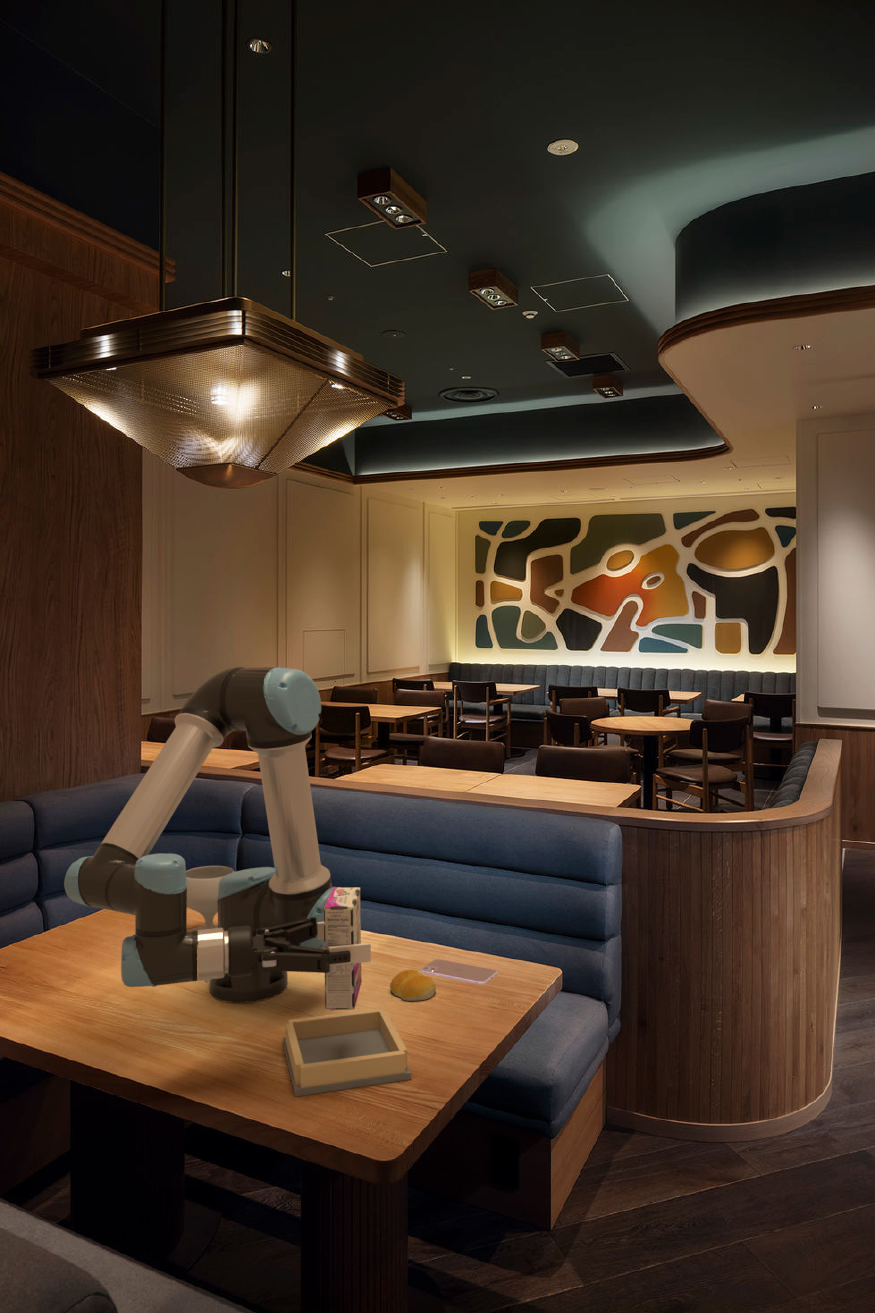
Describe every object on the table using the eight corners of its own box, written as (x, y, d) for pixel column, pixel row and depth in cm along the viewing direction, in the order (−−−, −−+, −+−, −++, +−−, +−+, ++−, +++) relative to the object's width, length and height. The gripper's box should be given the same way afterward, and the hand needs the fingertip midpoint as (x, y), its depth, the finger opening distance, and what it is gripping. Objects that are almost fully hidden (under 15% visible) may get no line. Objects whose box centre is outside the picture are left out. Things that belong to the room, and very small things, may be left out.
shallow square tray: (282, 1043, 145) (282, 1019, 145) (385, 1029, 150) (385, 1007, 150) (295, 1096, 128) (295, 1070, 128) (411, 1079, 133) (411, 1053, 133)
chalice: (251, 934, 200) (251, 871, 200) (200, 950, 190) (199, 883, 190) (217, 922, 209) (216, 861, 209) (166, 936, 199) (165, 872, 199)
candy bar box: (332, 982, 144) (332, 886, 144) (362, 983, 144) (361, 886, 144) (322, 1010, 133) (322, 906, 133) (354, 1010, 133) (354, 906, 133)
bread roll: (412, 1006, 160) (412, 985, 160) (383, 992, 167) (383, 972, 167) (445, 994, 166) (445, 974, 166) (415, 981, 172) (415, 961, 172)
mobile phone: (483, 982, 170) (418, 969, 177) (483, 986, 170) (418, 973, 177) (499, 969, 176) (435, 957, 183) (499, 974, 176) (435, 961, 183)
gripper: (223, 950, 145) (349, 938, 151) (229, 1007, 122) (378, 990, 128) (223, 906, 145) (349, 896, 151) (229, 955, 122) (377, 940, 128)
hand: (362, 939), depth 139 cm, fingers closed on candy bar box, 12 cm apart
